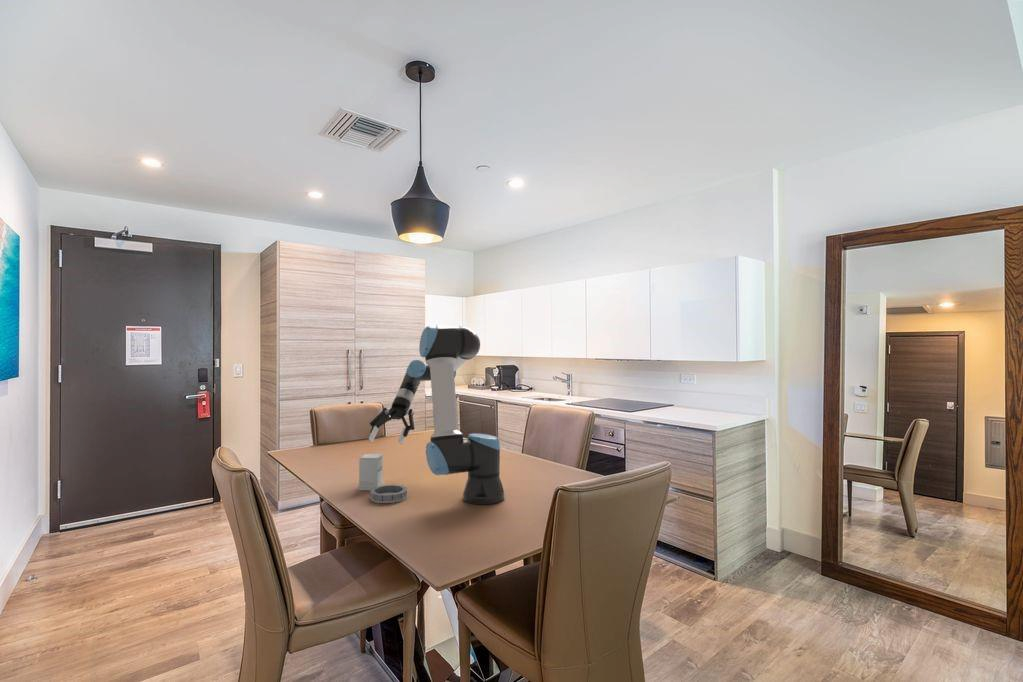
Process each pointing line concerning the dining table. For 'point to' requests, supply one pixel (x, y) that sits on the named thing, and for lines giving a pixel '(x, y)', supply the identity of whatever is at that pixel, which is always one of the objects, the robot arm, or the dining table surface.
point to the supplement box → (370, 471)
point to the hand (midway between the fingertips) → (385, 441)
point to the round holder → (388, 493)
